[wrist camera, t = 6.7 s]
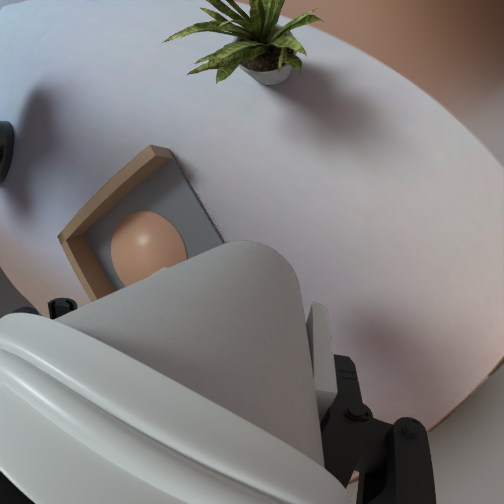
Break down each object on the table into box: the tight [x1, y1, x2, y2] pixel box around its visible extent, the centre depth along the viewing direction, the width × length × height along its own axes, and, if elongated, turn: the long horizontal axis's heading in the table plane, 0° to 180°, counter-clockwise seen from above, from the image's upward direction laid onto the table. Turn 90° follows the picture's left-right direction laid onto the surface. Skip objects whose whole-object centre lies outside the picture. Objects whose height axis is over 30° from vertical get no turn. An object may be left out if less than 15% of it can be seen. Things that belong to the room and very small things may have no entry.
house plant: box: [162, 0, 322, 85], centre depth 21 cm, size 14×14×16 cm
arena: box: [57, 145, 225, 302], centre depth 36 cm, size 22×22×5 cm
